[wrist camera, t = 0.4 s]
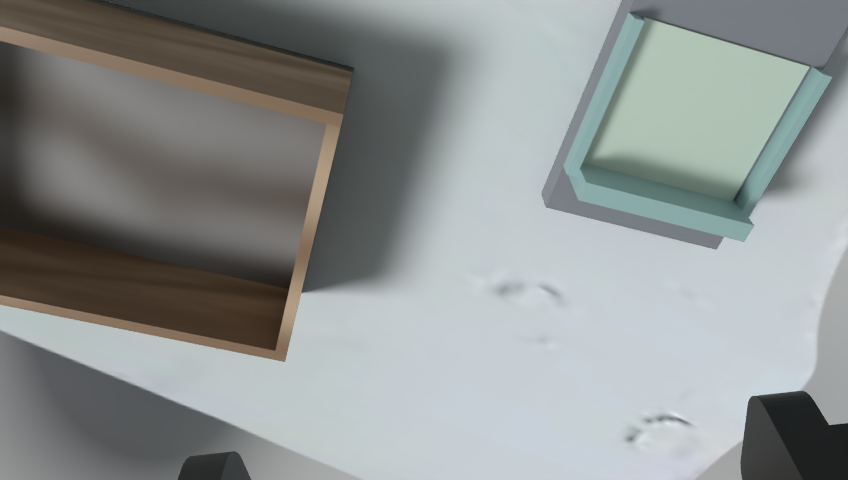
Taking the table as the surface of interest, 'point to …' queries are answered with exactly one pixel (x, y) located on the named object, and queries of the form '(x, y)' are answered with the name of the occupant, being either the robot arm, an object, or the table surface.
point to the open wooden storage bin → (160, 173)
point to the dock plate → (693, 113)
